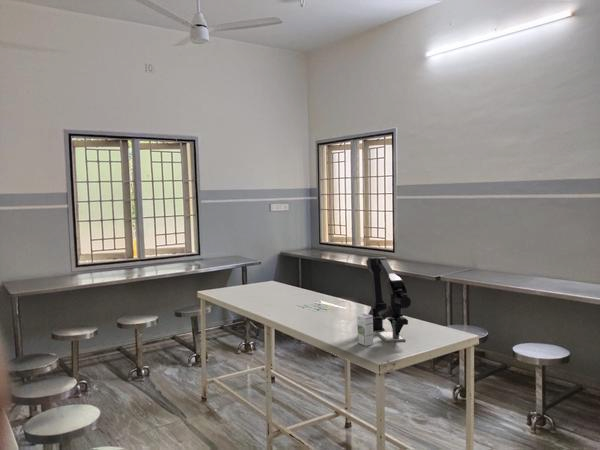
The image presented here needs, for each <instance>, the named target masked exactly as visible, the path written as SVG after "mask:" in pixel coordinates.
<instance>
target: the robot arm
mask: <svg viewBox="0 0 600 450" xmlns="http://www.w3.org/2000/svg"><path fill="white" fill-rule="evenodd" d="M365 263H366V266H367V270H368V271H369V273H370V275H371V277H370V278H371V287H372V302H371V305H370V310H369V312H368V313H367V314H368V315H372V316H373V332H377V331H378V332H382V331H386V330H385V328H384V326H383V325H384V321H385V320H386V319H387V321H389V322H390V325H391V330H393V327H392V323H393V324H394V326H395V332H396V335H400V332H401V331H402V328H403V327H404V325H405V326H407V325H409V320H408V319H407V318H406V317H404V314H403V313H402V310H403V309H408V308H409V307H410V306H411V304H412V301H411V298H410V297H409V296H408V290H407V288H406V285H405V283H404V280H403V279H402V278H401V277H400V276H399V275H397V274H396V273H395V272H394V271H393V269H392V267H391V264H389V262H388V258H387V257H385V256H373V257H371V256H370V257H368V259H366V261H365ZM381 272H382V274H383V276H384V278H385V280H386V286H387V289H388V294H389V304H388V306H387V303H386V302H385V301H384V300H383V290H382V280H381ZM393 319H394V322H392V320H393Z"/></svg>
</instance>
